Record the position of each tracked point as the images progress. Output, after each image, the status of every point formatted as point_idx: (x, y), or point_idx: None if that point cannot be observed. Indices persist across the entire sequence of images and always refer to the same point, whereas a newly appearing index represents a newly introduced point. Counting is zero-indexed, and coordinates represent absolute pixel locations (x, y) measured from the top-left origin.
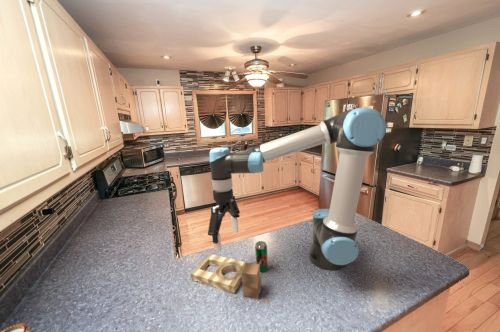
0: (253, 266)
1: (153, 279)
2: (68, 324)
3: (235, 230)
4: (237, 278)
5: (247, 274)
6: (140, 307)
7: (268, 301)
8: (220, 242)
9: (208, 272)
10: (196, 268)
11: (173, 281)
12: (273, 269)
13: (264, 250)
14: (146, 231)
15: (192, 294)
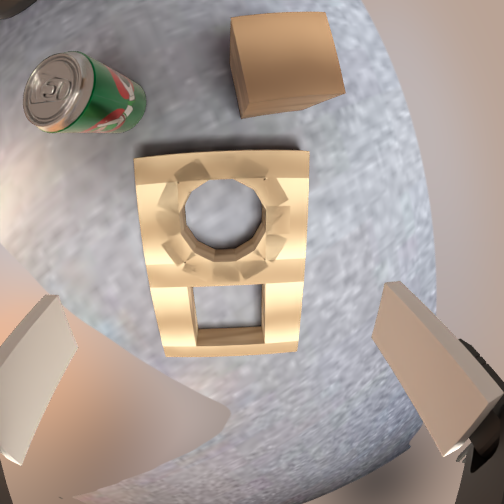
0: (264, 43)
1: (317, 407)
2: None
3: (55, 326)
4: (257, 158)
5: (335, 61)
6: None
7: None
8: (430, 327)
9: (269, 302)
10: (264, 352)
11: (311, 370)
12: (110, 65)
13: (86, 55)
14: (179, 490)
15: (345, 291)
